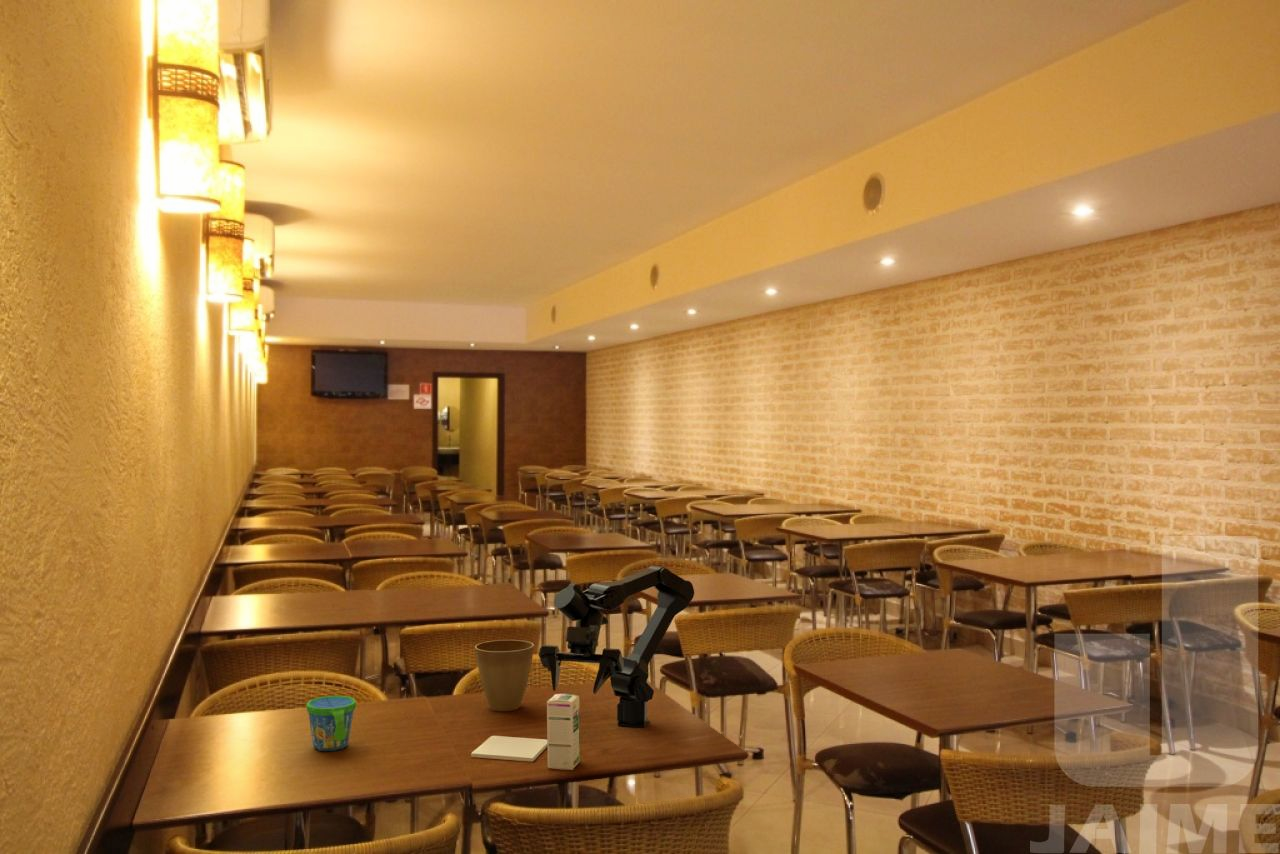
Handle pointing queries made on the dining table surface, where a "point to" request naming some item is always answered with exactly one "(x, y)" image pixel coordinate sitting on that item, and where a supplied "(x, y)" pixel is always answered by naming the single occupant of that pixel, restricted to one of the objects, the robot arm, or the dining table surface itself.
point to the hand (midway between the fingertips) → (574, 691)
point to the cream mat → (510, 748)
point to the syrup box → (563, 731)
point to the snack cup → (331, 721)
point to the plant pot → (504, 671)
